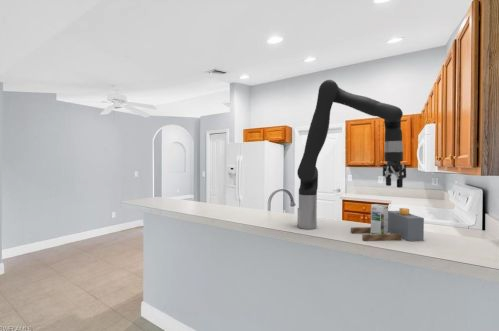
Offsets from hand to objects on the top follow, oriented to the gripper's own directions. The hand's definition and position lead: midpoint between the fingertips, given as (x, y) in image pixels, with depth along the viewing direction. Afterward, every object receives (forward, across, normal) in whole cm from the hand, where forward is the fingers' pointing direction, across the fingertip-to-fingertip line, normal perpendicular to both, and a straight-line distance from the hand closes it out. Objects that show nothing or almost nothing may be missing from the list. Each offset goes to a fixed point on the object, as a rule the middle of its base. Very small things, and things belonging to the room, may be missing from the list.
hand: (393, 186), depth 122 cm
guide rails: (+23, -1, -9) cm, 25 cm away
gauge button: (+15, -1, +5) cm, 16 cm away
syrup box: (+23, -1, -7) cm, 24 cm away
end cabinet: (+23, -1, +5) cm, 24 cm away
